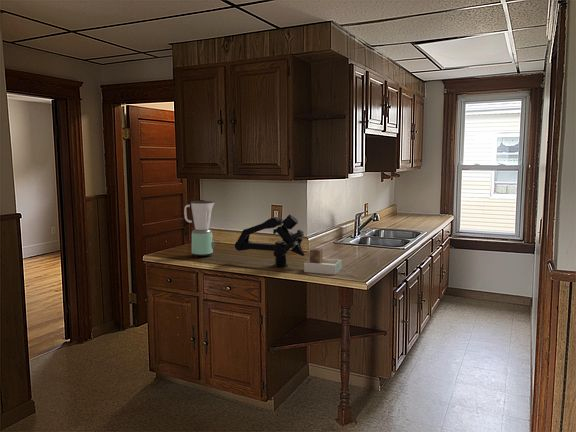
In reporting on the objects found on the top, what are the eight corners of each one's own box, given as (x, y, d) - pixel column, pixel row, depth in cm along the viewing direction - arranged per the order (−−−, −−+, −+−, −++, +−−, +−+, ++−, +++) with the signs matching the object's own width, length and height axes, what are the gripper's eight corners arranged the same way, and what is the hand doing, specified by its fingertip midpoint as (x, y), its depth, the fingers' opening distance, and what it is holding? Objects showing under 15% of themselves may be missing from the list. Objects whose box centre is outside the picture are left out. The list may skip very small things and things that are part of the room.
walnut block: (309, 264, 268) (309, 249, 267) (312, 261, 274) (312, 247, 273) (319, 264, 266) (319, 250, 265) (322, 262, 272) (322, 248, 271)
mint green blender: (215, 253, 312) (214, 199, 308) (216, 257, 299) (215, 201, 295) (185, 254, 309) (184, 199, 305) (185, 258, 296) (183, 201, 292)
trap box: (304, 271, 262) (304, 262, 262) (311, 266, 276) (311, 257, 276) (335, 274, 257) (335, 265, 256) (341, 268, 271) (341, 259, 270)
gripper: (290, 227, 263) (309, 249, 260) (300, 223, 280) (318, 243, 278) (276, 241, 266) (295, 262, 264) (287, 235, 284) (304, 255, 281)
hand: (303, 255), depth 272 cm, fingers closed
